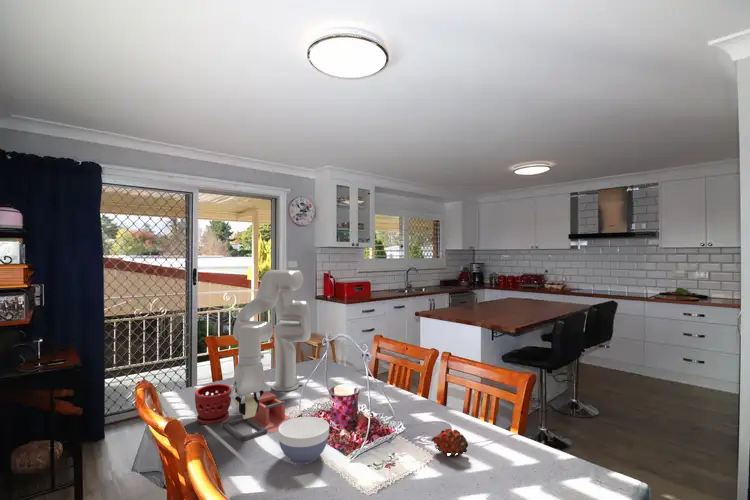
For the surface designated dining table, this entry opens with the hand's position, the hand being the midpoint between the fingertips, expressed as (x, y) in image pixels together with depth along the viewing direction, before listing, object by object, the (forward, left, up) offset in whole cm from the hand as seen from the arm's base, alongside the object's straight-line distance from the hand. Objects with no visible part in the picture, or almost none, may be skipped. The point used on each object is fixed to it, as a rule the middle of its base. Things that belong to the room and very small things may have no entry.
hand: (248, 411), depth 140 cm
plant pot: (+4, -22, -9) cm, 24 cm away
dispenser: (-12, -6, -8) cm, 15 cm away
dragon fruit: (-43, +55, -9) cm, 70 cm away
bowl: (-7, +25, -9) cm, 28 cm away
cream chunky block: (0, -4, 0) cm, 4 cm away
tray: (0, -4, -9) cm, 9 cm away
